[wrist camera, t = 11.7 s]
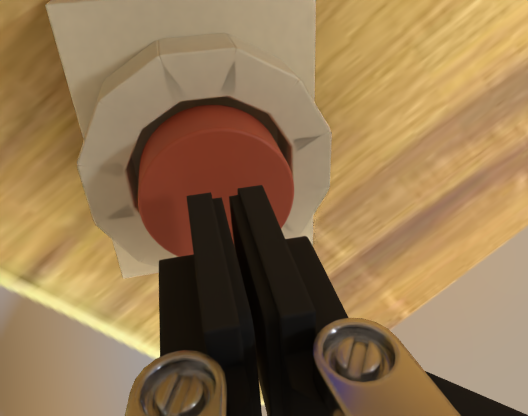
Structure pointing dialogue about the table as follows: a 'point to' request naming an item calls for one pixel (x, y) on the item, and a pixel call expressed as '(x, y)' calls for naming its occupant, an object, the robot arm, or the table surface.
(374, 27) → the table surface
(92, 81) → the button base
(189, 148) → the red push button
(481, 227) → the table surface
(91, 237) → the table surface
